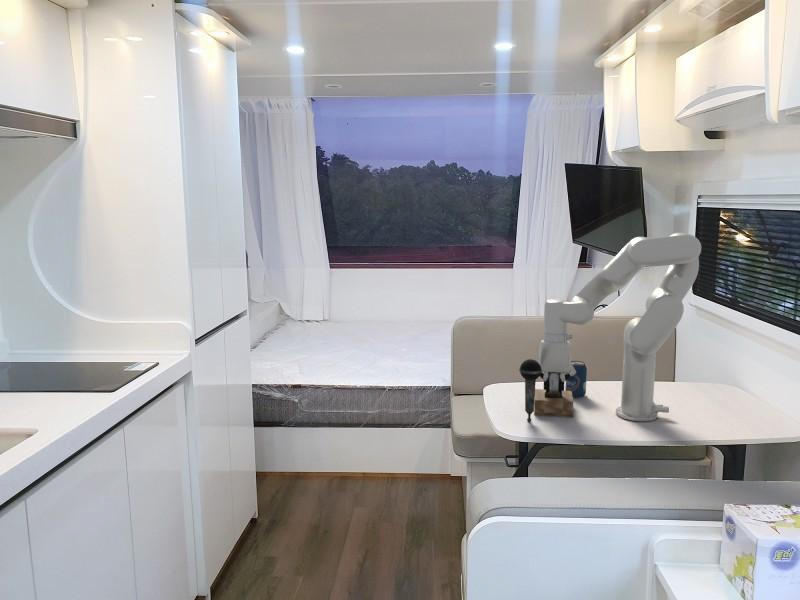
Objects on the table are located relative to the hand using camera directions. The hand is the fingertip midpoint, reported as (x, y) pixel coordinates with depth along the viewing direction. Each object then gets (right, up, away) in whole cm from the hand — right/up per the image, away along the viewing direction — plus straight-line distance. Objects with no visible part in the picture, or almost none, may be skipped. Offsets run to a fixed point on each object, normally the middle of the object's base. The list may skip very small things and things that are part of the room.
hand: (553, 391), depth 208 cm
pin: (0, -3, 0) cm, 3 cm away
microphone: (-10, -8, -10) cm, 16 cm away
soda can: (+11, -4, +16) cm, 20 cm away
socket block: (0, -6, +1) cm, 6 cm away
